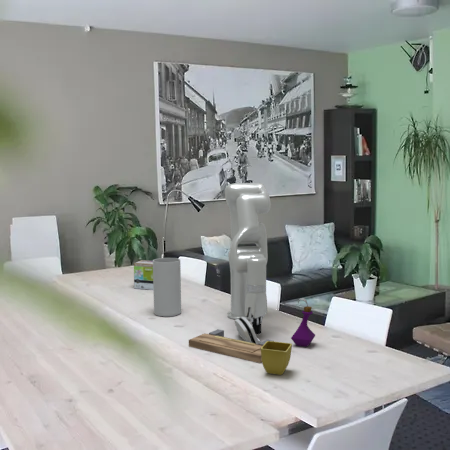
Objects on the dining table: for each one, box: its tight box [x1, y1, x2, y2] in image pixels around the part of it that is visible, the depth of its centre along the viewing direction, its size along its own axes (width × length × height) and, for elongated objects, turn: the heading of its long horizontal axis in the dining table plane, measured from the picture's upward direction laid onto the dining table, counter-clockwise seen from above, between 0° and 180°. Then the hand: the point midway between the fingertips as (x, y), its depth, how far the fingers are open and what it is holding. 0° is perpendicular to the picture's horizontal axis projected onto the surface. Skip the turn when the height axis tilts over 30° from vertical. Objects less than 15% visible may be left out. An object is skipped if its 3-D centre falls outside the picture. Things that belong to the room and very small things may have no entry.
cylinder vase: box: [152, 257, 182, 318], centre depth 263 cm, size 12×12×25 cm
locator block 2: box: [258, 339, 275, 346], centre depth 212 cm, size 6×3×3 cm, turn 144°
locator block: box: [208, 329, 225, 337], centre depth 226 cm, size 6×3×3 cm, turn 144°
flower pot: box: [261, 340, 293, 376], centre depth 190 cm, size 9×9×9 cm
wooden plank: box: [188, 333, 262, 364], centre depth 212 cm, size 10×32×3 cm, turn 54°
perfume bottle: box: [290, 297, 316, 348], centre depth 217 cm, size 8×8×18 cm
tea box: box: [133, 259, 154, 291], centre depth 317 cm, size 15×10×15 cm, turn 73°
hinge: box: [233, 317, 262, 345], centre depth 223 cm, size 17×5×10 cm, turn 14°
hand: (256, 333), depth 228 cm, fingers closed
